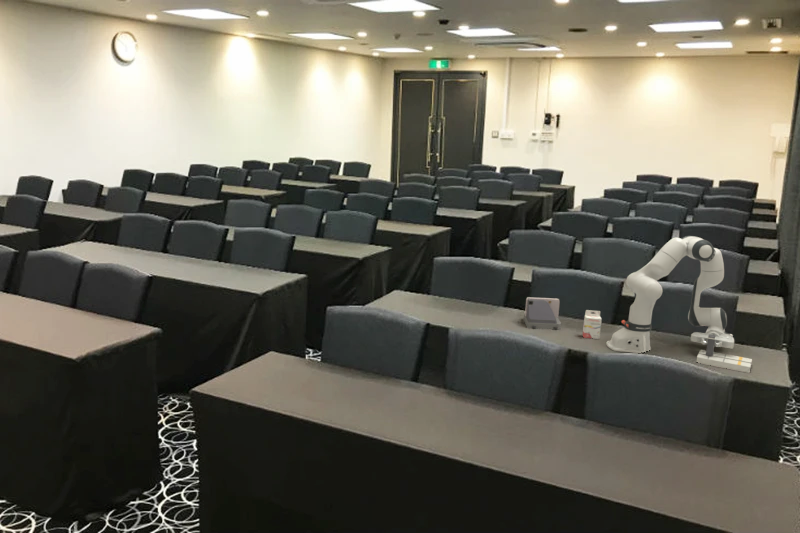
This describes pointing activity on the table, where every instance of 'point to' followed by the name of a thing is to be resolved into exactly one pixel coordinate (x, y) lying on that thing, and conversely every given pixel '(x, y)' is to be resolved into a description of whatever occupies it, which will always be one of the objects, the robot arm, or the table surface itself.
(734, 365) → the fader console
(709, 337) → the fader knob
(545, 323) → the tablet on stand
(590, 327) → the ink cartridge box
